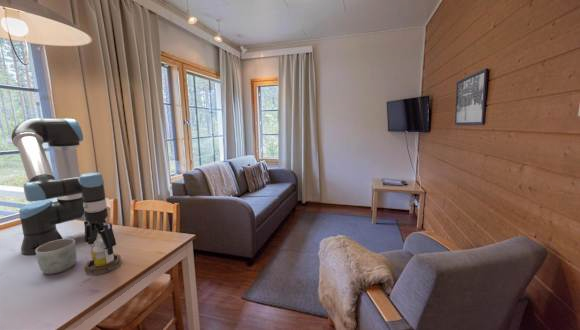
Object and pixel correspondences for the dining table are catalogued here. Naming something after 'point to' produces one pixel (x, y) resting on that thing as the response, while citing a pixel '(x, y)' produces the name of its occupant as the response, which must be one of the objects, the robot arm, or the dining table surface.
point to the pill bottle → (100, 254)
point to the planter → (56, 255)
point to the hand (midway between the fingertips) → (102, 259)
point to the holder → (92, 270)
